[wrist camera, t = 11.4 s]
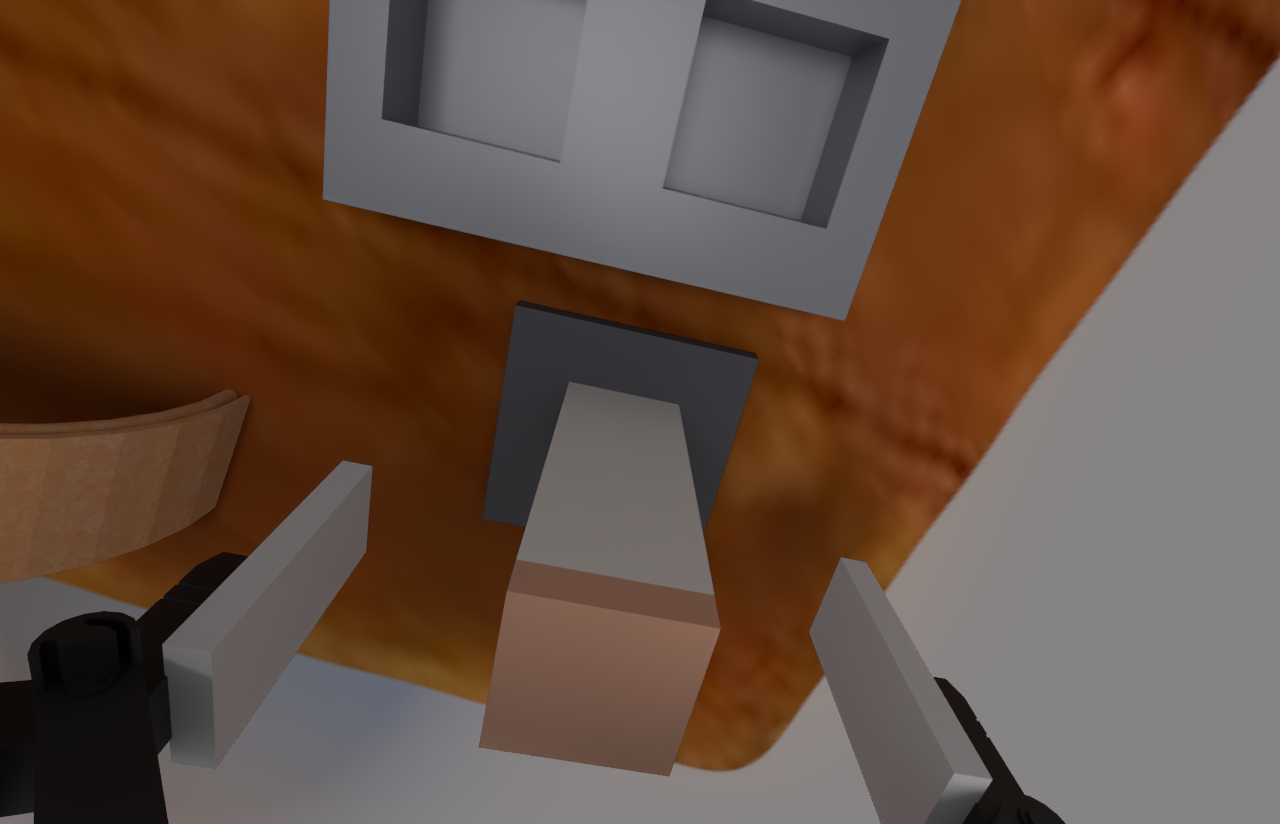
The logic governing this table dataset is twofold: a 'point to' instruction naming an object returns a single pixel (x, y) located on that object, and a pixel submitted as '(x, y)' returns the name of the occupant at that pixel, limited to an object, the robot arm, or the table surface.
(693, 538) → the plug
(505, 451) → the mat
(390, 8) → the grey boxy piece
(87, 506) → the arch
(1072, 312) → the table surface
